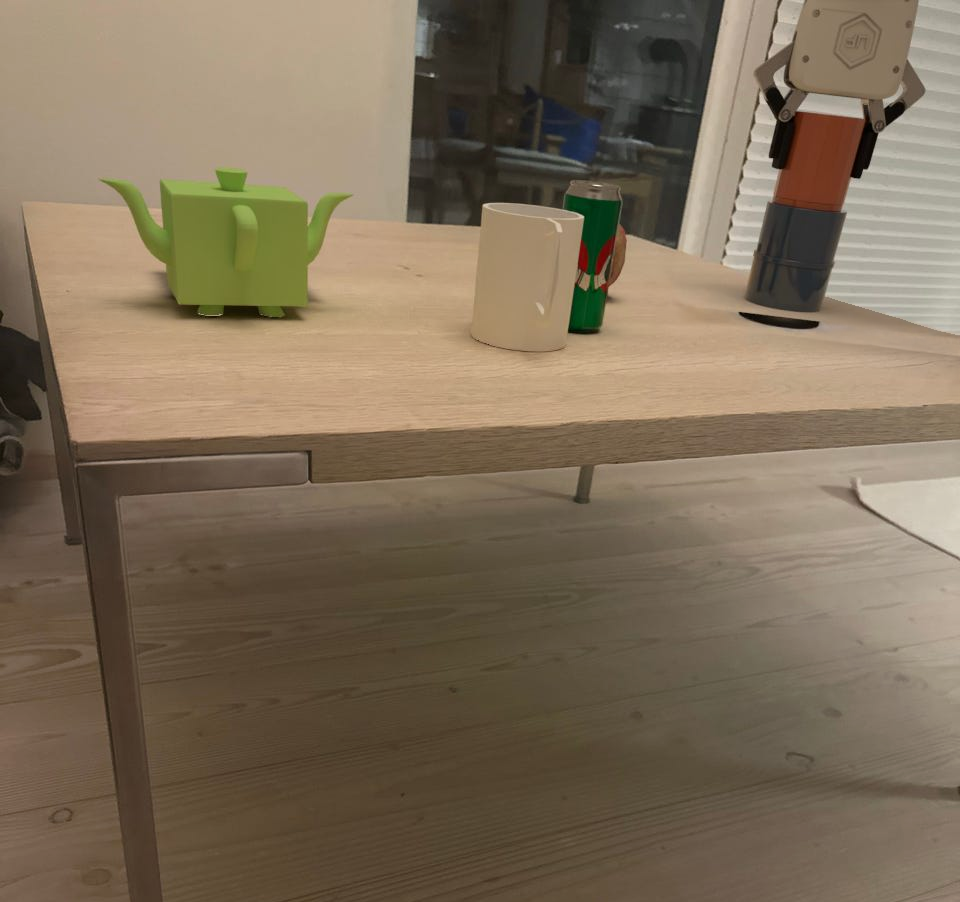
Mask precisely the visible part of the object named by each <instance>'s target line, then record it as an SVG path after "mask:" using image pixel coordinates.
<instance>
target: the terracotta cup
mask: <svg viewBox="0 0 960 902" xmlns="http://www.w3.org/2000/svg"><path fill="white" fill-rule="evenodd" d="M793 116H794V118H793V122H792V123H794V125H795V129H794V133H793V137H792V141H791V145H790V149H789V153H788V157H787V161H786V165H785V168H783V169H782V170H781V169H778V173H777V178H776V181H775V185H774V190H773V197H772V202H774V203H777V204H781V205H786V206H791V207H797V208H804V209H811V210H820V211H833V212H839V211H841V210H843V206H844V204H845V201H846V198H847V194H848V192H849V191H848V190H849V187H850V183H851V180H852V177H851V176H852V173H853V169H854V165H855V162H856V158H857V155H858V151H859V147H860V144H861V140H862V137H863V133H864V130H865V126H866V122H867V119H864V118H860V117H854V116H853V117H851V116H844V115H835V114H827V113H819V112H818V113H817V112H811V111H810V112H809V111H800V110H796V112H795V113H794V115H793Z"/></svg>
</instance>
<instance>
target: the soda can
mask: <svg viewBox="0 0 960 902" xmlns="http://www.w3.org/2000/svg"><path fill="white" fill-rule="evenodd" d="M569 183H570V186H569V187H568V189H566V191H565V193H564V194H563V201H562V210H567V211H571V212H575V213H578V214H581V215H583V216H584V222H583V229H582V236H581V243H580V250H579V257H578V264H577V271H576V278H575V285H574V292H573V299H572V306H571V313H570V320H569V326H568V333H578V334H591V333H595V332H597V331H598V330H599V329H600V328H601V327H602V326H603V324H604V318H605V313H606V306H607V301H608V294H609V288H610V286H609V282H610V276H611V270H612V264H613V258H614V252H615V246H616V240H617V234H618V227H619V224H620V221H621V216H622V215H621V214H622V208H623V202H624V201H623V198H622V195H621V193H620V191H621V189H622V188H621V186H620V185H618V184H613V183H609V182H602V181H596V180H595V181H594V180H582V179H572V180H570V182H569Z"/></svg>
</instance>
